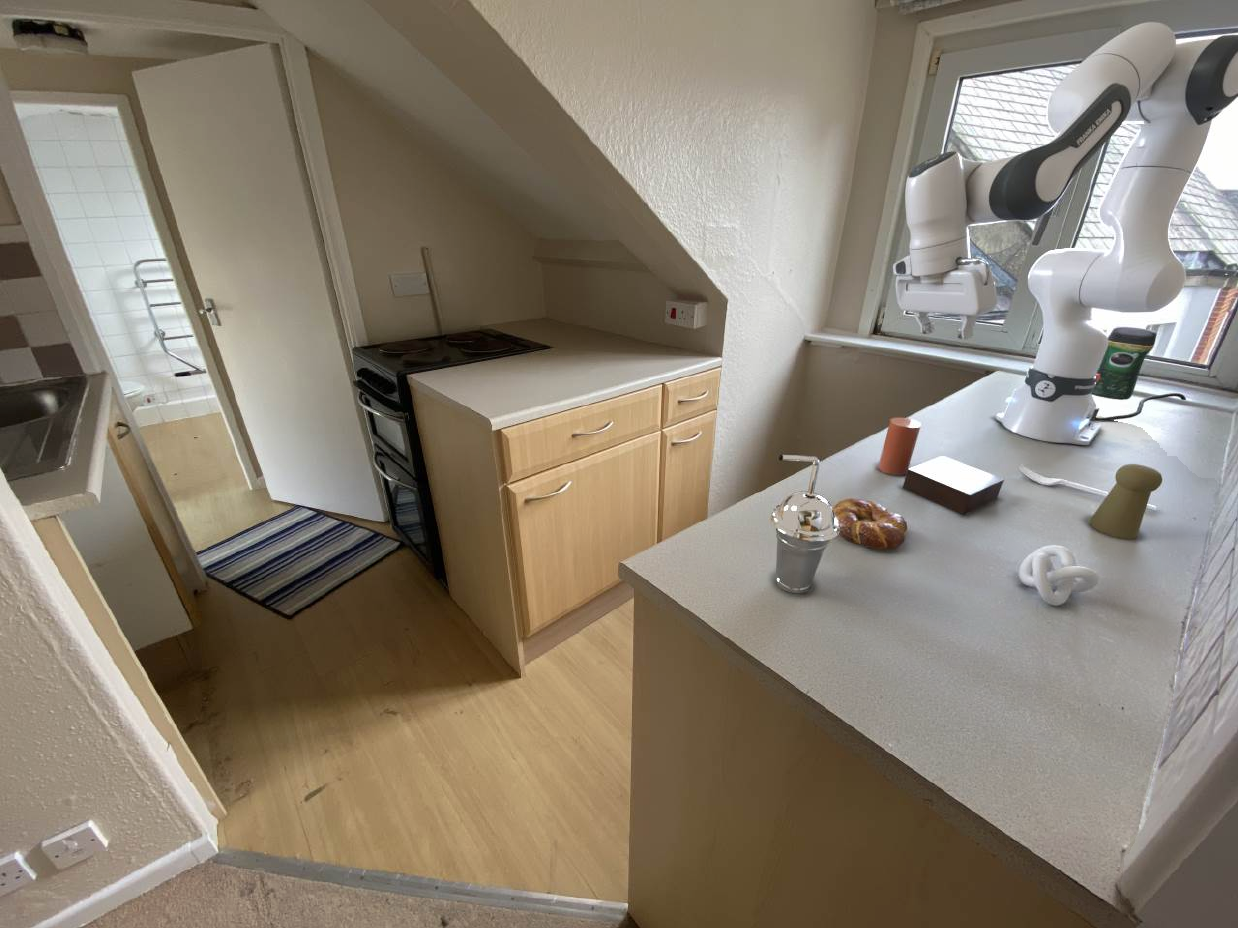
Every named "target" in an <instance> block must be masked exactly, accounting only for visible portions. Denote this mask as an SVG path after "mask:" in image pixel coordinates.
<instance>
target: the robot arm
mask: <svg viewBox="0 0 1238 928" xmlns="http://www.w3.org/2000/svg"><path fill="white" fill-rule="evenodd" d="M1237 98H1238V34H1226V35H1220V36H1218V37H1217V38H1209V39H1200V40H1199V39H1198V40H1194V41H1193V40H1192V41H1187V42H1181V43H1177V38H1176V35H1175V33H1174V31H1173V30H1172V29H1171V28H1170V27H1169V26H1168V25H1167V24H1164V23H1161V22H1158V21H1157V22H1156V21H1148V22H1142V23H1139V24H1136V25H1134V26H1131V27H1130V28H1128V29H1127V30H1125V31H1122V32H1120V34H1118V35H1116V36H1115V37H1113V38H1112V39H1110V40H1109V41H1107V42H1106V43H1104V44H1103V45H1102V46H1100V47H1099V48H1097V49H1096V50H1095V51H1094V52H1093V53H1091V54H1090V55H1089V56H1088V57H1086V58H1085V59H1084V60H1083V61H1081V62H1080V63H1079V64H1078V65H1077V66H1076V67H1075V68H1074V69H1072V70H1071V71H1070V72H1069V73H1068V74H1067V75H1066V76H1065V77H1064V78H1063V79H1062V80H1061V81H1060V82H1059V83H1058V85H1056V87H1055V88H1054V90H1053V91H1052V93H1051V94H1050V95H1049V97H1048V100H1047V104H1046V111H1045V115H1046V116H1045V117H1046V121H1047V124H1048V127H1049V128H1050V130H1051V131H1052V132H1053V134H1055V136H1054V137H1053V138H1052V140H1050V141H1049V142H1048V143H1046V144H1044V145H1040V146H1038V147H1035V148H1031V149H1028V150H1025V151H1023V152H1020V153H1016V154H1012V155H1008V156H1005V157H1001V158H998V159H994V160H988V161H985V162H983V161H981V160H980V161H979V160H972V159H968V158H965V157H964V156H961V155H960V153H959V152H958V151H956V150H953V151H947V152H943V153H940V154H938V155H935V156H934V157H931V158H929V159H927V160H925V161H923V162H921V163H919V164H918V165H916V166H915V167H914V168H912V170H911V171H910V172H909V173H908V175H907V178H906V182H905V193H904V201H905V202H904V203H905V218H906V224H907V227H908V229H909V233H910V241H909V244H908V245H909V247H908V248H909V255H907V256H905V257H903V258H902V259H900V260H898V261H896V262H895V263H893V265H892V272H893V274H894V275H895V276H896V278H895V295H896V301H897V305H898V306H899V308H900V310H902V311H903V312H906V311H907V312H913V314H914V318H915V320H916V322H917V323H918V325H919V330H920V334H922V335H930V334H933V333H934V332H935V328H934V327H935V323H934V322H931V320H930V317H929V315H928V314H930V313H931V314H944V315H954V316H955V315H957V316H960V321H962V325H961V327H960V328H957V329H956V331H957V338H958V339H961V340H968V339H971V338H973V336H974V327H975V324H976V322H977V320H978V318H979V316H982V315H985V314H987V313H990V312H993V311H994V310H995V309H996V307H997V304H998V296H997V289H996V283H995V278H994V274H993V271H992V270H991V266H990V263H988V262H987V261H986V260H985V259H984V258H983V257H982V256H974V257H971V252H970V251H971V250H970V249H971V247H970V235H969V233H970V232H969V229H968V227H969V226H979V225H989V224H995V223H1003V222H1025V221H1033V220H1036V219H1039V218H1041V217H1043V216H1045V214H1047V213H1048V212H1050V211H1051V210H1052V209H1053V208H1054V207H1055V206H1056V204H1057V203H1059V201H1060V200H1061V198H1062V197H1063V195H1064V193H1065V192H1066V190H1067V189H1068V187H1069V185H1070V184H1071V182H1072V181H1073V179H1074V178H1075V177H1076V176H1077V174H1078V173H1079V172H1080V170H1082V169H1083V167H1084V166H1085V165H1086V164H1088V163H1089V162H1090V160H1091V159H1092V158H1093V157H1094V156H1095V155H1096V154H1097V152H1099V150H1101V148H1102V147H1103V146H1104V145H1105V143H1107V142H1108V140H1109V139H1111V137H1112V136H1113V135H1114V134H1115V133H1116V132H1117V131H1118V130H1119V128H1120V127H1121V126H1122V124H1126V125H1127V124H1140V127H1139V130H1138V132H1137V133H1136V135H1135V137H1134V138H1133V139H1132V141H1131V143H1130V144H1129V146H1128V148H1127V149H1126V151H1125V153H1124V155H1123V157H1122V158H1121V160H1120V163H1119V164H1118V167H1117V169H1116V170H1115V172H1114V174H1113V177H1112V179H1111V181H1110V183H1109V184H1108V187H1107V189H1106V191H1105V194H1104V195H1103V197H1102V199H1101V201H1100V204H1099V206H1098V209H1097V217H1098V220H1099V222H1100V223H1101V224H1102V225H1103V226H1104V227H1105V228H1107V229H1108V230H1109V231H1111V232H1112V233H1113V237H1114V239H1113V243H1112V246H1111V248H1110V249H1109V250H1108V249H1095V248H1082V247H1073V248H1062V249H1054V250H1049V251H1047V252H1045V253H1044V254H1043V255H1041V256H1040V257H1039V258H1037V260H1036V261H1035V262H1034V264H1033V265H1032V266H1031V268H1030V270H1029V272H1028V276H1027V286H1028V289H1029V291H1030V293H1031V294H1032V295H1033V297H1034V298H1035V300H1036V301H1037V302H1038V304H1039V307H1040V310H1041V313H1042V320H1043V328H1042V329H1043V331H1042V337H1041V340H1040V343H1039V347H1038V351H1037V353H1036V356H1035V359H1034V362H1033V364H1032V365H1031V366H1029V369H1028V371H1027V372H1026V374H1025V379H1024V384H1022V385H1020V386H1018V387H1015V388H1014V390H1013V392H1012V394H1011V397H1006V400H1005V403H1007V406H1006V408H1005V410H1004V412H1002V413H997V414H996V416H995V419H996V421H999V422H1001V424H1002V426H1003V427H1004V428H1006V429H1007V430H1009V431H1011V432H1012V433H1015V434H1018V435H1020V436H1023V437H1027V438H1030V439H1034V440H1037V441H1042V442H1049V443H1058V444H1071V445H1079V446H1089V445H1090V444H1091V442H1093V440H1094V438H1095V437H1096V435H1097V434H1098V433H1099V432H1100V429H1101V425H1100V424H1097V423H1096V422H1094V421H1097V422H1099V421H1102V422H1103V421H1105V422H1106V421H1108V422H1109V421H1117V420H1124V419H1132V418H1135V417H1137V416H1139V415H1140V414H1141V413H1142V411H1143V408H1144V404H1145V403H1146V402H1148V401H1151V400H1158V399H1165V398H1170V397H1177V398H1179V399H1181V400H1182V401H1187V398H1186V396H1185V395H1184V394H1182V393H1178V392H1170V393H1164V394H1158V395H1151V396H1146V397H1144V398H1143V399H1141V400H1140V401H1139V403H1138V407H1137V410H1136V411H1135V412H1133V413H1132V412H1131V413H1128V414H1119V415H1114V416H1105V417H1097V416H1098V413H1099V411H1100V407H1097V404H1096V402H1095V400H1094V398H1093V395H1091V393H1092V392H1093V390H1094V387H1095V385H1096V382H1097V381H1098V380H1099V377H1100V374H1096V373H1097V371H1098V368H1099V366H1100V364H1101V361H1102V359H1103V356H1104V354H1105V352H1106V350H1107V347H1108V336H1107V334H1106V332H1105V331H1104V330H1102V329H1101V328H1100V327H1099V326H1097V324H1096V323H1095V321H1094V320H1093V317H1092V309H1099V310H1105V311H1111V312H1118V313H1154V312H1157V311H1159V310H1161V309H1163V308H1165V307H1167V306H1168V305H1170V304H1171V303H1172V302H1173V301H1174V300H1175V299H1176V298H1178V297H1179V295H1180V293H1181V292H1182V290H1183V288H1184V286H1185V284H1186V281H1187V280H1186V279H1187V272H1186V268H1185V266H1184V264H1183V262H1182V261H1181V259H1179V258H1178V257H1177V256H1176V254H1175V253H1174V250H1173V249H1172V246H1171V241H1170V227H1171V221H1172V218H1173V215H1174V213H1175V210H1176V208H1177V205H1178V204H1179V202H1180V200H1181V197H1182V194H1183V193H1184V191H1185V189H1186V187H1187V186H1188V183H1189V181H1190V179H1191V177H1192V175H1193V174H1194V171H1195V170H1196V168H1197V165H1198V164H1199V161H1200V159H1201V157H1202V154H1203V152H1204V149H1205V146H1206V144H1207V142H1208V137H1209V136H1210V131H1211V129H1212V124H1213V120H1214V119H1215V118H1216V117H1217V116H1219V114H1221V112H1223V111H1224V110H1225V109H1226V108H1227V107H1229V106H1230V105H1231V104H1233V102H1234V101H1236V99H1237Z"/></svg>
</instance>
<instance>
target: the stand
mask: <svg viewBox="0 0 1238 928" xmlns="http://www.w3.org/2000/svg"><path fill="white" fill-rule="evenodd" d="M1004 482H1005V479H1004V478H1001V477H999V476H997V475H994V474H991V473H989V472H986V471H983V470H980V469H978V468H975V467H972V466H970V465H967V464H965V463H962V462H960V461H957V460H954V459H952V458H949V457H947V456H943V455H941V456H938V457H936V458H933V459H931V460H927V461H925V462H922V463H920V464H917V465H915V466H912V467H909V468H908V471H907V474H905V477H904V482H903V485H902V489H904V490H905V491H907V492H910V493H912V494H914V495H917V496H918V497H920V498H923V499H925V500H927V501H929V502H932V503H934V504H935V505H936V504H937V506H938V505H939V506H940V507H943V508H944V509H947V510H950V511H952V512H954V513H956V514H958V515H960V516H966V515H967V514H969V513H972V512H973V511H976V510H978V509H980V508H982V507H984V506H985V505H988V504H990V503H992V502H994V501H996V500H998V498H999V495H1000V492H1001V490H1002V488H1003V485H1004Z"/></svg>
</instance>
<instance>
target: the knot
mask: <svg viewBox="0 0 1238 928" xmlns="http://www.w3.org/2000/svg"><path fill="white" fill-rule="evenodd" d="M1051 557H1059V559H1060V562H1061V567H1059V568H1056V569H1055V567H1054V563H1053V561H1052V558H1051ZM1018 578H1019V581H1020V583H1022V584H1023V585H1025V586H1027V587H1029V588H1036V590H1037V591H1038V594H1039V595H1040V597H1041V598H1042V600H1043V601H1045V602H1046V604H1048V605H1051V606H1055V607H1056V606H1061V605H1063V604H1065V603H1066V602H1067V600H1069V599H1068V598H1070V595H1071V593H1083V592H1087V591H1091V590H1092V589H1094V588H1096V587H1097V586H1098V585H1099V582H1100V578H1099V575H1098V574H1097V572H1096V571H1094V569H1093V570H1092V569H1091V568H1089V567H1086V566H1079V565H1077V563H1076V558H1075V556H1074V554H1073V553H1072V551H1070V550H1069V549H1068V548H1066V547H1064V546H1062V545H1057V544H1050V545H1045V546H1042V547H1040V548H1038V549H1035V550H1034V551H1032V552H1030V554H1028V556H1026V557H1025V558H1024V559H1023V561H1022V562H1021V564H1020V566H1019V569H1018ZM1076 578H1077V579H1080V580H1075V579H1076ZM1051 586H1052V587H1053V588H1056V589H1055V591H1053V589H1052V587H1051Z"/></svg>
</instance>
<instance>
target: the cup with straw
mask: <svg viewBox="0 0 1238 928" xmlns="http://www.w3.org/2000/svg"><path fill="white" fill-rule="evenodd" d="M778 459H779V461H781V462H808V463H810V462H811V463H812V469H811V474H810V480H809V485H808V488H807V490H803V491H797V492H793V493H791V494H789V495H788V496H787V497H786V498H784V500H783V501H782V502H781V503H780V504H778V505H775V507H774V508H773V510H772V513H771V515H770V520H771V524H772V525H773V526H774V527H775V533H776V534H775V535H776V536H775V537H776V562H775V563H776V565H775V575H776V577H775V583H776V584H777V586H778V587H779V588H780V589H781V590H783V591H785V592H787V593H791V594H797V595H799V594H806V593H807V592H809V590H810V588H811V584H812V583H813V581H814V578H815V576H816V573H817V570H818V568H819V565H820V562H821V559H822V557H823V555H824V551H825V549H826V548H827V547H828V545H829V543H830V541H831V540H833V539H834V538H836V537H837V536H838V535H839V531H840V523H839V520H838V518H837V517H836V516H835V515H834V511H833V507H832V504H831V503H830V502H829V500H827V499H826V498H825V497H824V496H822V495H821V494H819V493H816V492H815V488H816V485H817V484H816V483H817V478H818V473H819V467H820V459H818V457H817V456H815V455H800V454H799V455H795V454H780V455H779V457H778Z"/></svg>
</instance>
